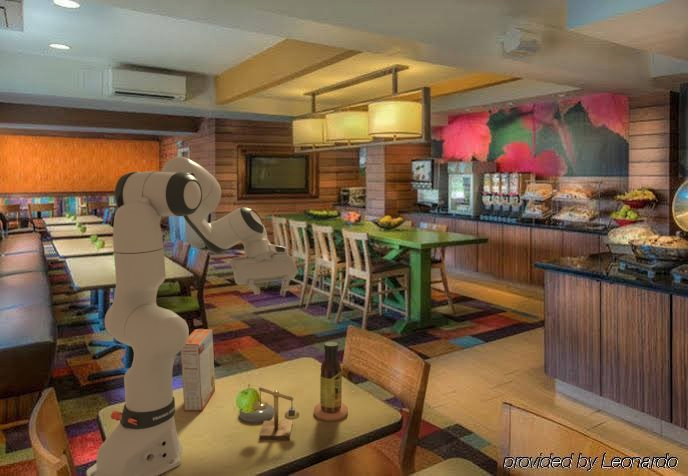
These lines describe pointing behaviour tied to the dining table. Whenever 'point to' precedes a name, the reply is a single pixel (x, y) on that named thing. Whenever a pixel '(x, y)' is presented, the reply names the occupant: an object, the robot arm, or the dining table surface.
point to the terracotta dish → (330, 416)
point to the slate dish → (258, 415)
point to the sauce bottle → (331, 379)
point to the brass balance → (276, 418)
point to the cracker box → (198, 370)
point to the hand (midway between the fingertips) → (272, 291)
